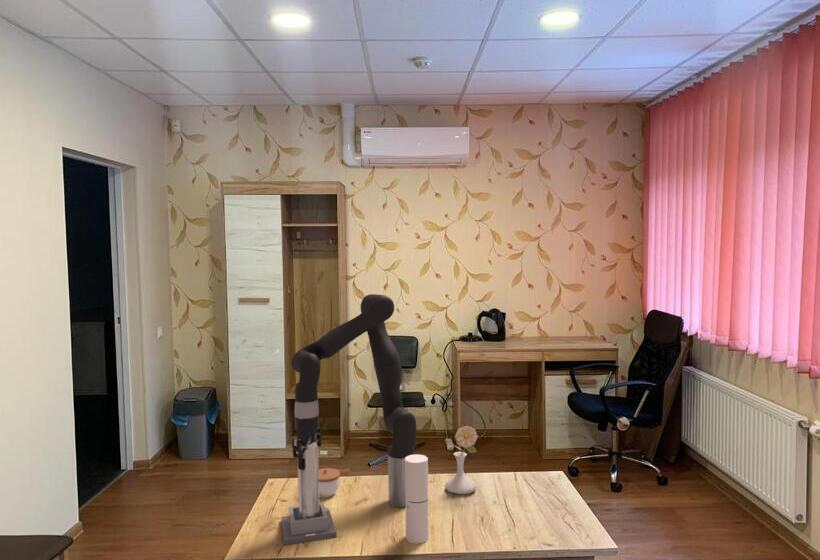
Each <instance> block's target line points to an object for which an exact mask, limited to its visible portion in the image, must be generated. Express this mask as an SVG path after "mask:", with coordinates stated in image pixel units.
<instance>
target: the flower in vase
mask: <svg viewBox="0 0 820 560" xmlns="http://www.w3.org/2000/svg"><path fill="white" fill-rule="evenodd" d="M478 437H479V435H478V433H477V432H476V429H475V428H473V427H471V426H468V425H465V426H461V427H459V428H458V429H457V431H456V433H455V436H454V438H455V441H456V444H457V445H458V446H460V447H462V448H464V449H462V448H460V447H458V446H456V445H455V444H453V446H454V447H455V448H457V449H459V450H460V451H456V452H454V453H453V456H454V457H455V460H456V465H457V467H456V473H455V474H454V475H453V476H452V477H450V478H449V479H448V480H447V482H445V485H444V487H445V489H446V490H447V491H448V492H450V493H453V494H458V495H465V494H470V493H473V491H475V490H476V488H477V485H476V483H475V482H474V481H473V479H471V478H470V477H469V476H467V475H466V474H465V471H464V465H465V464H464V462H465V459H466V456H467V455H468V453H469V454H473V453H477V452H478V451H477V449H476V447H474V445H475V444H476V441H477V439H478ZM465 450H466V451H467V452H468V453H466V452H465Z"/></svg>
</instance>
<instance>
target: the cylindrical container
mask: <svg viewBox="0 0 820 560" xmlns="http://www.w3.org/2000/svg"><path fill="white" fill-rule="evenodd" d="M404 508H405V540H406V541H407V542H409V543H411V544H423V543H426V542H428V540H429V539H430V536H429V535H430V531H429V529H430V528H429V527H430V526H429V524H430V523H429V515H430V514H429V457H427V455H424V454H414V455H409V456H407V457H405V507H404Z"/></svg>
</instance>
